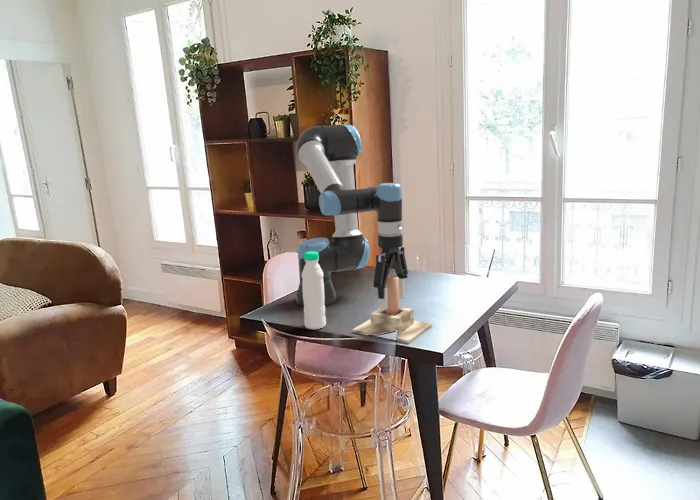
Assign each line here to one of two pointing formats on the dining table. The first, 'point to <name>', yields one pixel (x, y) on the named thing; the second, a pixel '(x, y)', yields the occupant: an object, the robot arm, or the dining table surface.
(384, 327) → the socket block
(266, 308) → the dining table surface
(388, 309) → the dowel
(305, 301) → the water bottle
